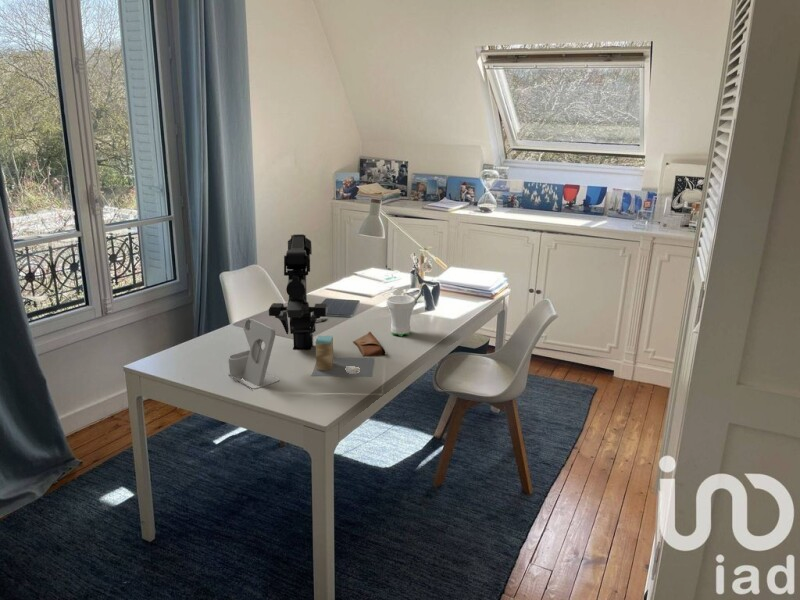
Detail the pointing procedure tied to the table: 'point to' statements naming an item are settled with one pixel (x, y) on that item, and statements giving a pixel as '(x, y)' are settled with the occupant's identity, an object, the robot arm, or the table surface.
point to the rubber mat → (342, 362)
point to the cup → (400, 313)
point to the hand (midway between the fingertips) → (299, 333)
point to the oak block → (324, 352)
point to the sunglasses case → (369, 346)
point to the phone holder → (254, 356)
